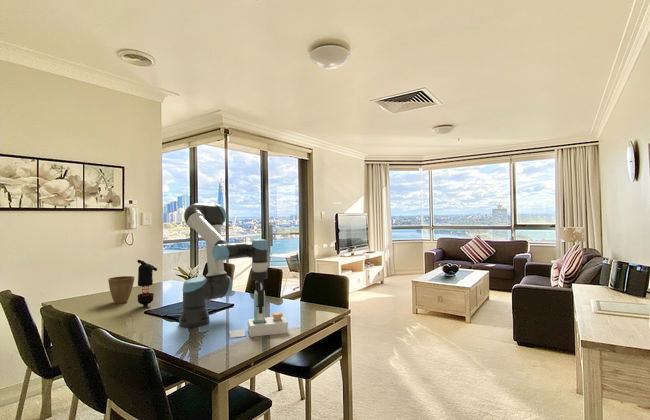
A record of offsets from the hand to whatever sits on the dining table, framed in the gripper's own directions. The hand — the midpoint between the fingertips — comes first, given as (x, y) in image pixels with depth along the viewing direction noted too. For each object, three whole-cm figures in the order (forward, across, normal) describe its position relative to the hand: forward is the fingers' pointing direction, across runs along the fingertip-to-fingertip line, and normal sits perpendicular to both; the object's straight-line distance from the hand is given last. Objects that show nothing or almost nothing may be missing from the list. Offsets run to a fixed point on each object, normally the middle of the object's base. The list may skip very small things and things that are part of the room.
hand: (259, 317), depth 163 cm
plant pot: (+7, +86, +79) cm, 117 cm away
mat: (+7, 0, +10) cm, 12 cm away
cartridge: (+7, 0, 0) cm, 7 cm away
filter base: (+7, 0, -4) cm, 8 cm away
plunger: (+3, 0, -9) cm, 10 cm away
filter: (+7, +70, +61) cm, 93 cm away
